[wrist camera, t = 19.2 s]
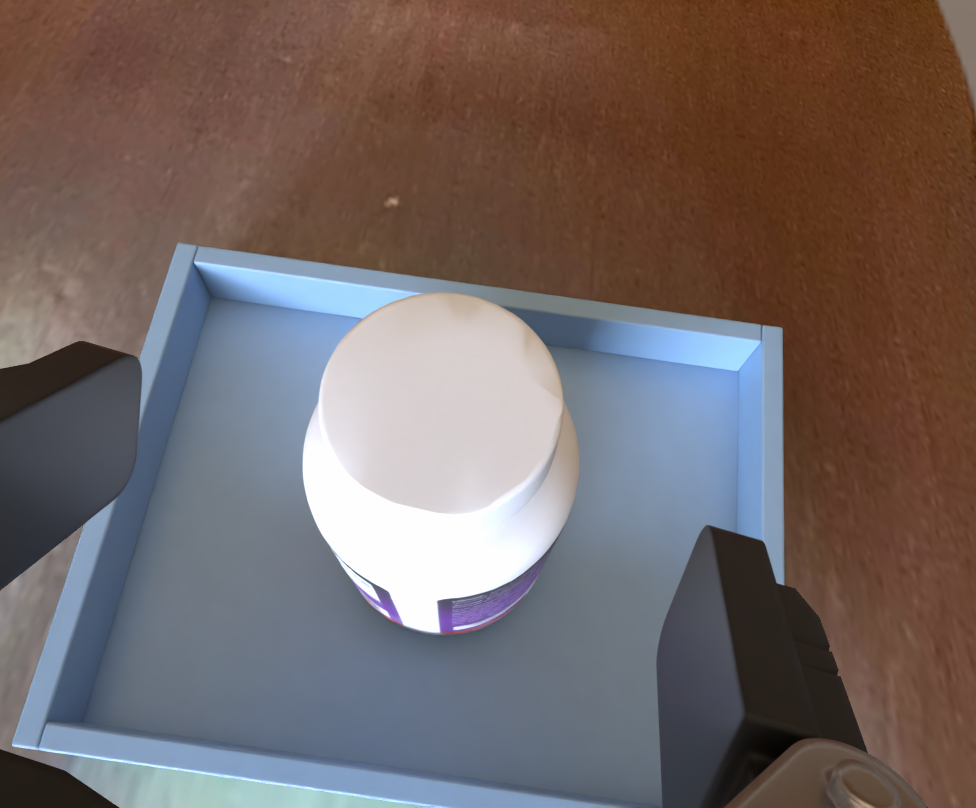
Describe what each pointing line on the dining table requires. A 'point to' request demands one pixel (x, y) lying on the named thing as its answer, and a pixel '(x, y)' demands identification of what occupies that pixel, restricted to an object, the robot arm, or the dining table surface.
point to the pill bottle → (441, 460)
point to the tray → (335, 598)
